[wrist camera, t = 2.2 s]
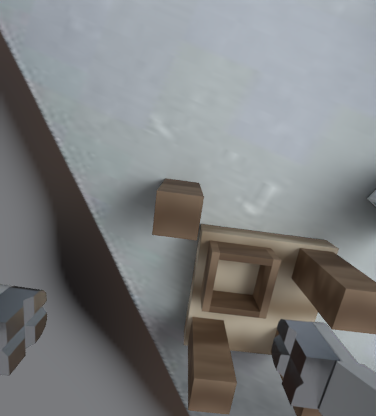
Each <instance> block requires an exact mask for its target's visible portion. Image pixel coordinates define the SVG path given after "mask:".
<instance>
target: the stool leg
mask: <svg viewBox="0 0 376 416" xmlns="http://www.w3.org/2000/svg"><path fill="white" fill-rule="evenodd" d="M203 199H204V196H203V193H202V190H201V187H200V184H199V183H195V182H188V181H180V180H173V179H165V180H164V181H163V183H162V184H161V186H160V187H159V188H158V190H157V194H156V204H155V213H154V223H153V232H152V235H158V236H166V237H174V238H182V239H190V240H197V237H198V231H199V224H200V218H201V212H202V205H203Z"/></svg>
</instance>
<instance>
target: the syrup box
mask: <svg viewBox="0 0 376 416" xmlns="http://www.w3.org/2000/svg"><path fill="white" fill-rule="evenodd" d="M367 199H368V200H369V201H370V202H371V203H372V204H373V205H374V206H375V207H376V190H375V191H374V192H373V193H372V194H371V195H370V196H369V197H368V198H367Z"/></svg>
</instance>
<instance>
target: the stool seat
mask: <svg viewBox="0 0 376 416" xmlns="http://www.w3.org/2000/svg"><path fill="white" fill-rule="evenodd" d="M338 250H339V248H337V247H336V246H334V245H333V244H331V243H329V242H328V241H326V240H320V239H312V238H305V237H297V236H290V235H282V234H274V233H267V232H259V231H251V230H244V229H236V228H228V227H221V226H213V225H205V224H201V228H200V234H199V241H198V247H197V253H196V259H195V266H194V272H193V278H192V284H191V291H190V297H189V303H188V309H187V316H186V322H185V328H184V345H188V410H190V411H200V412H210V413H220V414H229V412H230V408H231V404H232V400H233V396H234V392H235V388H236V384H237V381H236V377H235V372H234V367H233V362H232V358H231V353H230V350H233V351H242V352H251V353H260V354H269V355H272V344H273V340H274V338H275V337H276V336H278V335H279V332H278V330H277V325H278V322H279V321H280V319H288V320H297V321H306V322H309V321H310V322H315V319H316V316H317V313H318V312H319V314H320V315H321V316H322V317H323V319H324V320H325V321H326V322H327V324H328V325H329V326H330V327H331V329H335V330H344V331H352V332H361V333H369V334H376V282H375V281H373V280H372V279H370V278H369V277H368V276H366V275H365V274H363V273H362V272H361V271H359V270H358V269H356V268H355V267H354V266H352V265H351V264H349V263H348V262H347V261H345V260H344V259H342V258H341V257H340V256H338V255H337V253H338ZM279 374H280V373H279ZM280 376H281V378H282V381H283V376H282V375H281V374H280ZM293 408H294V410H295V413H296V415H297V416H322V415H321V413H320V412H319V410H318V409H310V408H303V407H296V406H293Z"/></svg>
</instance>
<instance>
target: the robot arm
mask: <svg viewBox="0 0 376 416" xmlns="http://www.w3.org/2000/svg"><path fill="white" fill-rule="evenodd" d="M46 301H47V298H46V292H45V291H44V290H39V289H31V288H25V287H18V286H9V285H2V284H0V375H7V376H9V375H10V374H11V373H12V371H13V370H14V369H15V368H16V367H17V365H18V364H19V363H20V362H21V360H22V359H23V358H24V357H25V349H26V348H27V347H29V346H31V345H33V344H35V343H36V342H37V340H38V339H39V338H40V336H41V334H42V332H43V330H44V328H45V325H46V321H47V312H46V311H45V309H44V308H43V307H42V306H43V305H44V304H45V302H46ZM277 330H278V332H279V335H278V336H276V337H275V338H274V340H273V344H272V358H273V363H274V365H275V368H276V370H277V371H278V372H279V373H280V374H281V375H282V376H283V381H282V385H283V388H284V390H285V393H286V395H287V398H288V400H289V403H290V405H291V406H296V407H303V408H310V409H318V410H319V412H320V413H321V415H322V416H376V372H374V371H373V370H371V369H370V368H368V367H367V366H365V365H364V364H359V363H358V362H357V361H356V360H355V358H354V357H353V356H352V355H351V353H350V352H349V351H348V350H347V348H346V347H345V346H344V345H343V343H342V342H341V341H340V340H339V339H338V337H337V336H336V335H335V334H334V332H333V331H332V330H331V329H330V327H329V326H328V325H327V324H325V323H322V322H310V321H309V322H306V321H297V320H288V319H280V321H279V322H278V325H277Z"/></svg>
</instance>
